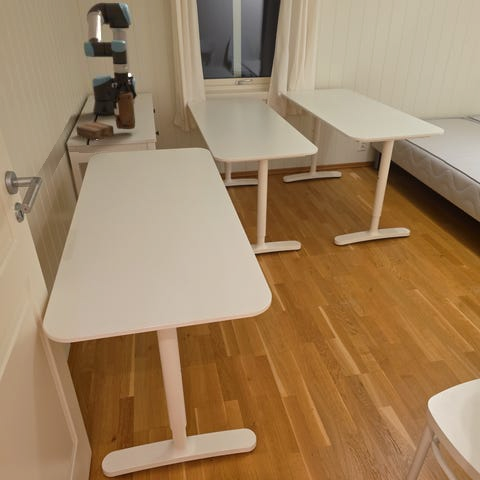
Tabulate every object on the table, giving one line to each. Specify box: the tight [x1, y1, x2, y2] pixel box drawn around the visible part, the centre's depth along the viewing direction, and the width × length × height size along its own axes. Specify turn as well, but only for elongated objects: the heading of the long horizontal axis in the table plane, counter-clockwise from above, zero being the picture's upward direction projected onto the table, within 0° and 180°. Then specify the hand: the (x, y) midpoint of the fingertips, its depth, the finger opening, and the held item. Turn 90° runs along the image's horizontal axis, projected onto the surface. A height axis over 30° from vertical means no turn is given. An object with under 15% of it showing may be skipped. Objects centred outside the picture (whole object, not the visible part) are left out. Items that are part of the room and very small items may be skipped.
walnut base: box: [75, 121, 115, 141], centre depth 253 cm, size 14×14×5 cm
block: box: [114, 92, 136, 130], centre depth 254 cm, size 11×8×20 cm
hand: (124, 112), depth 254 cm, fingers closed on block, 11 cm apart
